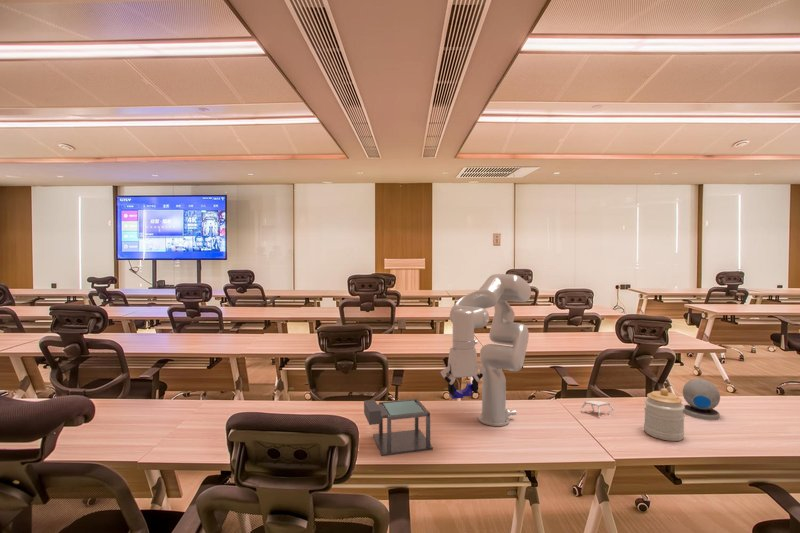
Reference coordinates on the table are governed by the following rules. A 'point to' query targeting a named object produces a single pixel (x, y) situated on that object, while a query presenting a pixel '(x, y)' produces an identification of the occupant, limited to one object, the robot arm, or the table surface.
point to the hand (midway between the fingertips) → (463, 393)
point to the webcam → (701, 399)
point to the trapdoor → (388, 410)
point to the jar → (664, 415)
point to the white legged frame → (597, 403)
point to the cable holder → (463, 392)
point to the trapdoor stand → (404, 434)
